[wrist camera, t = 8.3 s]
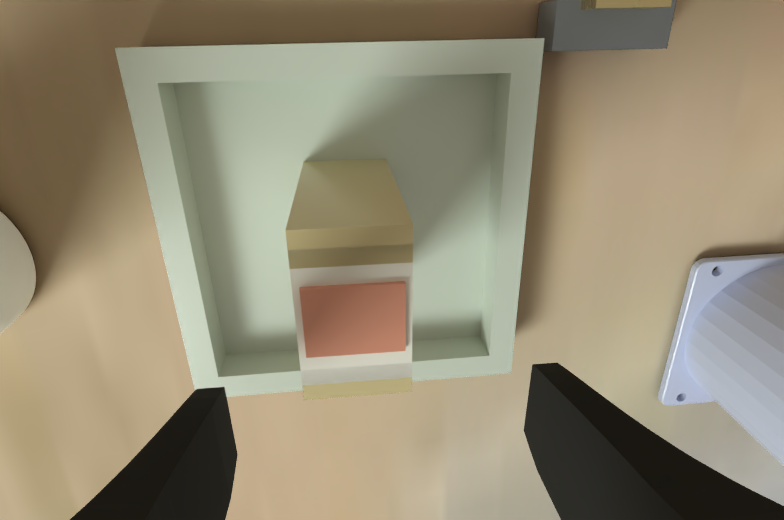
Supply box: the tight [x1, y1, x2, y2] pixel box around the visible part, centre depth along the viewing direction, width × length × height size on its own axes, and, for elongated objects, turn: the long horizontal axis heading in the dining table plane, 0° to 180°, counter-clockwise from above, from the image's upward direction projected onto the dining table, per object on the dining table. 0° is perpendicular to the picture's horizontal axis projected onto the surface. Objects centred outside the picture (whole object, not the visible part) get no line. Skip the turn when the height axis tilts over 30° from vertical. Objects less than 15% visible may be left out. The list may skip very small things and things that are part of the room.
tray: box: [115, 38, 544, 397], centre depth 18 cm, size 13×13×2 cm
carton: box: [285, 159, 413, 400], centre depth 16 cm, size 3×5×7 cm, turn 0°
